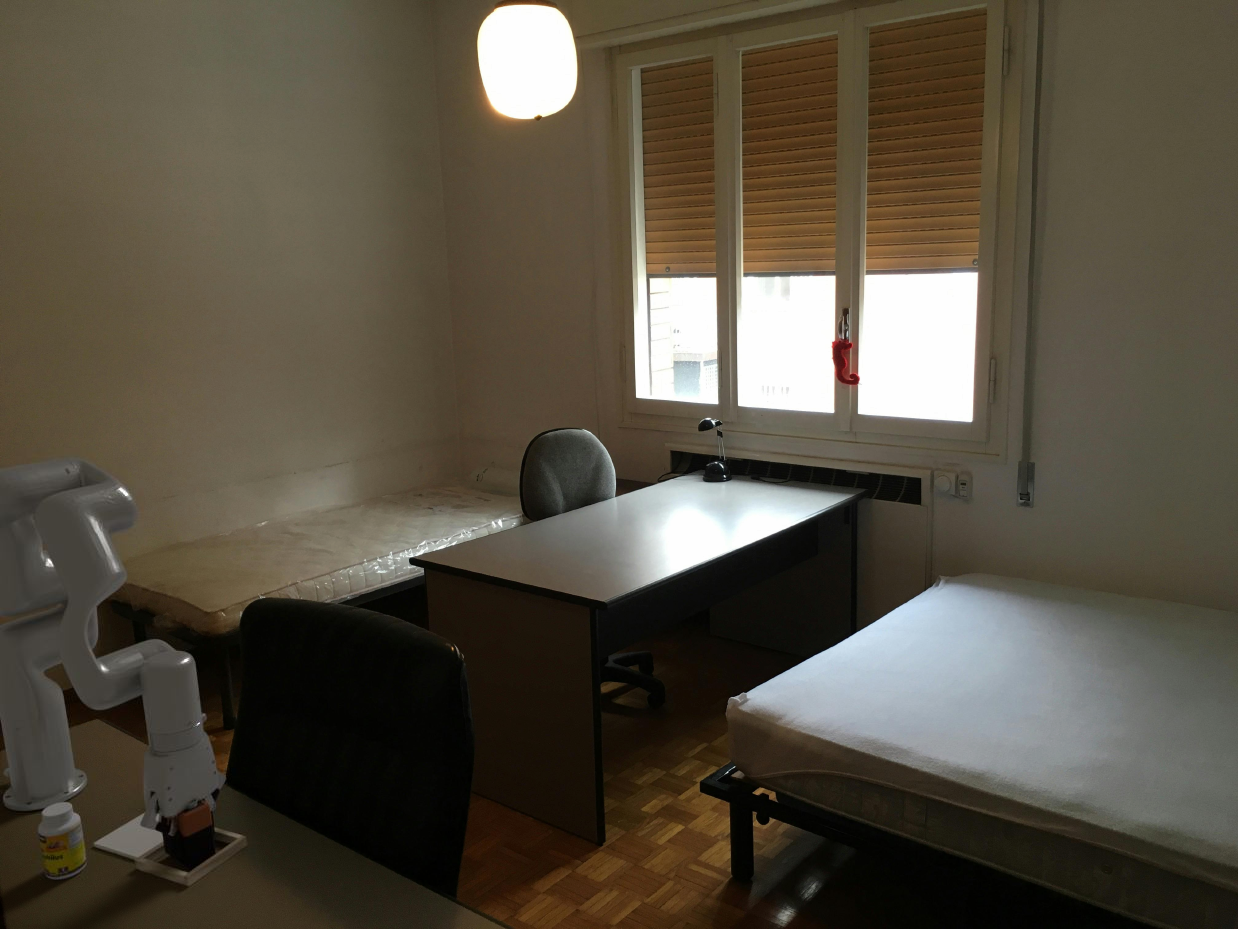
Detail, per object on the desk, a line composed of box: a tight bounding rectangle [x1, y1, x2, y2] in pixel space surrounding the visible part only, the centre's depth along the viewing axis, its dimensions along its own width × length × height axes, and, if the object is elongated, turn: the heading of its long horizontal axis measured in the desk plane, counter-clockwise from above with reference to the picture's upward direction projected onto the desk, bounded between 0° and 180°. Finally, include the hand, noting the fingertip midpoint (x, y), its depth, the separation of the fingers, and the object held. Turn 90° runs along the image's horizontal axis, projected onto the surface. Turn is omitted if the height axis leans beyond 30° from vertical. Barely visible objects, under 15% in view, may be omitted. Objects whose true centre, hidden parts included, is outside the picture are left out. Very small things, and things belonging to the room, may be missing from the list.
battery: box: [167, 799, 217, 870], centre depth 147 cm, size 4×7×10 cm, turn 52°
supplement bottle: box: [37, 801, 88, 881], centre depth 145 cm, size 6×6×10 cm
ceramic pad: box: [93, 812, 163, 861], centre depth 154 cm, size 10×10×1 cm
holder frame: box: [134, 826, 248, 887], centre depth 148 cm, size 11×11×2 cm
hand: (190, 843), depth 148 cm, fingers closed on battery, 5 cm apart
